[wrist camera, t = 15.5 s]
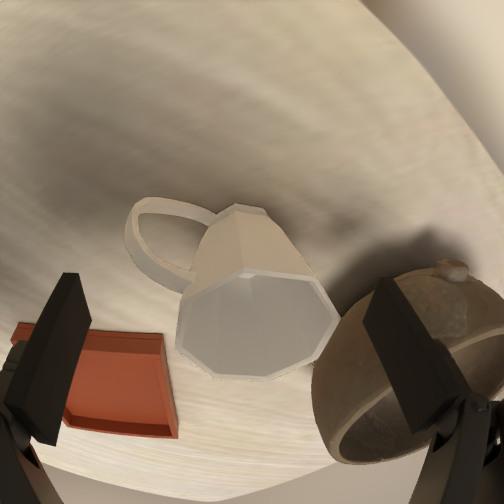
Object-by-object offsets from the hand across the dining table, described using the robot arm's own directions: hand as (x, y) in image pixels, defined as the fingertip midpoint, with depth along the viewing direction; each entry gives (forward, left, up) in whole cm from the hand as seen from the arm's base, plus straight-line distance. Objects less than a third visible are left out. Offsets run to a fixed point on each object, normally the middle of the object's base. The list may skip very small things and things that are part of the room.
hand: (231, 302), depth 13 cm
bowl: (+9, +15, -7) cm, 19 cm away
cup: (0, 0, -7) cm, 7 cm away
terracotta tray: (+17, -11, -7) cm, 21 cm away
